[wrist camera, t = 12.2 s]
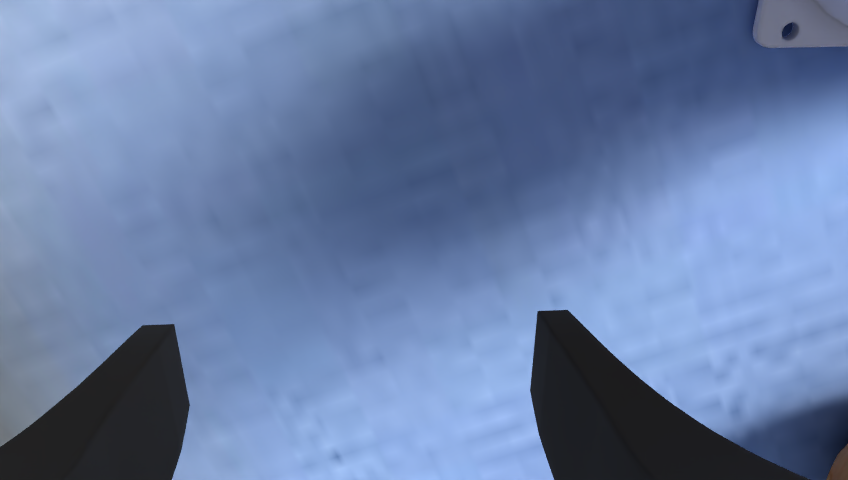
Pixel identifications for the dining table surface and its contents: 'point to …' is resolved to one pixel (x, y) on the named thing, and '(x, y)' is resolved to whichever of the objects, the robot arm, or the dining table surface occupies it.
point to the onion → (840, 466)
